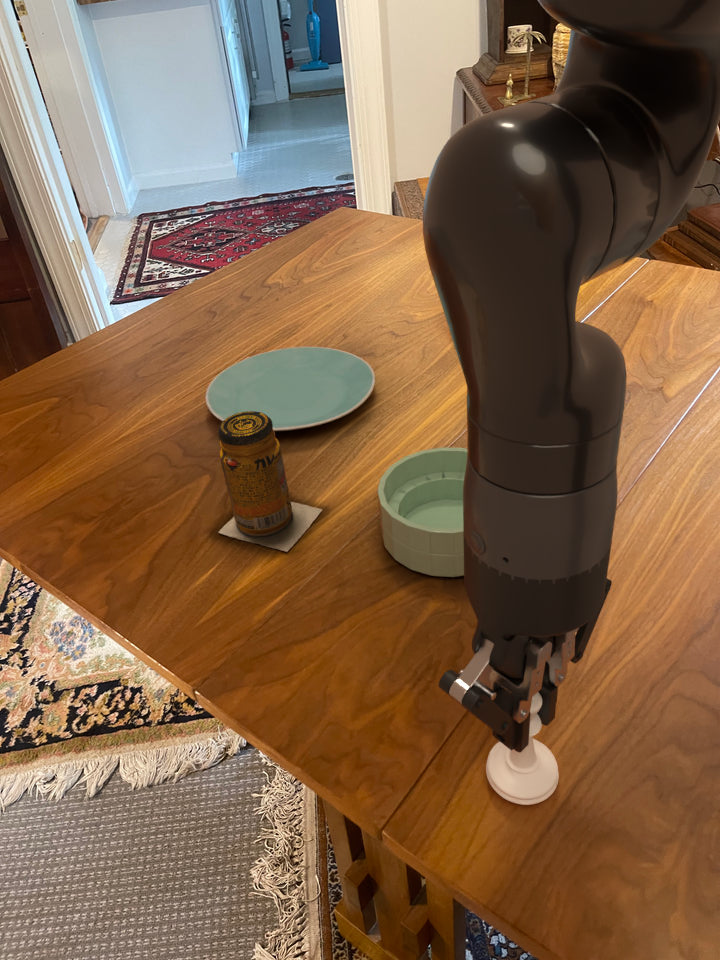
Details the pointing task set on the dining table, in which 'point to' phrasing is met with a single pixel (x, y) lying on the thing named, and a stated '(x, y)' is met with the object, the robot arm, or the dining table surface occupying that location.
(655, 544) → the dining table surface
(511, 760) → the chess piece
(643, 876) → the dining table surface
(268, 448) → the condiment
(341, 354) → the plate
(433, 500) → the bowl
